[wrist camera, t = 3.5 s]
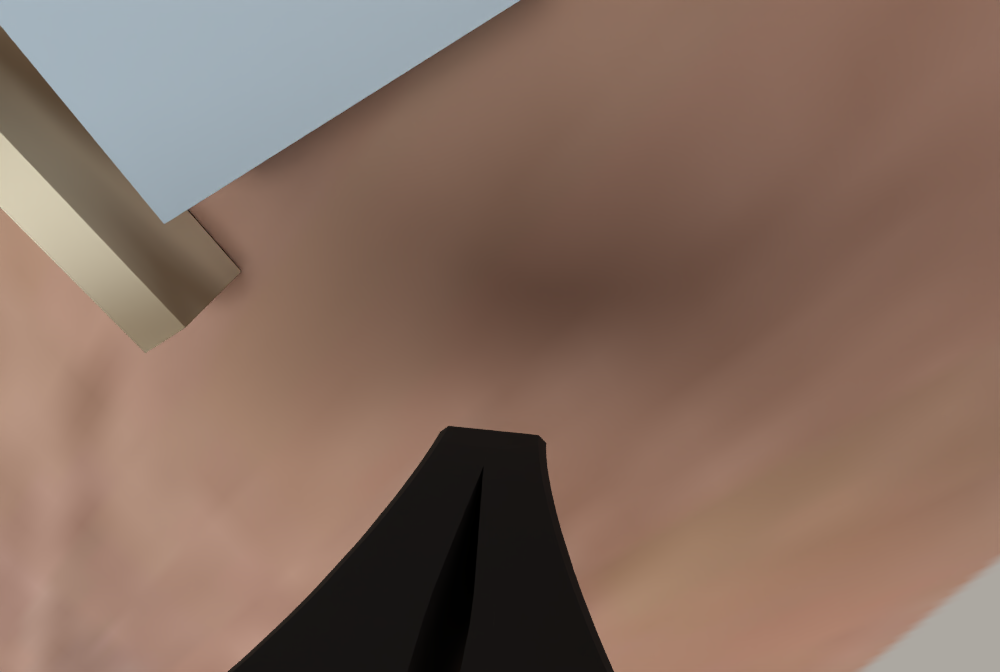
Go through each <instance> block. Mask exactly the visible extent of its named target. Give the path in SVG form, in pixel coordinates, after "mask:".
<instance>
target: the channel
mask: <svg viewBox="0 0 1000 672" xmlns="http://www.w3.org/2000/svg"><path fill="white" fill-rule="evenodd" d="M0 207H1V208H2V209H3V210H4V211H5V212H6V213H7V214H8V215H9V217H10V218H11V219H12V220H13V221H14V222H15V223H16V224H17V225H18V226H19V227H20V228H21V229H22V230H23V231H24V232H25V233H26V234H27V235H28V236H29V237H30V238H31V239H32V240H33V241H34V242H35V243H36V244H37V245H38V246H39V247H40V248H41V249H42V250H43V251H44V252H45V253H46V254H47V255H48V256H49V257H50V258H51V259H52V260H53V261H54V262H55V263H56V264H57V265H58V266H59V267H60V268H61V269H62V270H63V271H64V272H65V273H66V274H67V275H68V276H69V277H70V278H71V279H72V280H73V281H74V282H75V283H76V284H77V285H78V286H79V287H80V288H81V289H82V290H83V291H84V292H85V293H86V294H87V295H88V296H89V297H90V298H91V299H92V300H93V301H94V302H95V303H96V304H97V305H98V306H99V307H100V308H101V309H102V310H103V311H104V312H105V313H106V314H107V315H108V316H109V317H110V318H111V319H112V320H113V321H114V322H115V323H116V324H117V325H118V326H119V327H120V328H121V329H122V330H123V331H124V332H125V333H126V334H127V335H128V336H129V337H130V338H131V339H132V340H133V341H134V342H135V343H136V344H137V345H138V346H139V347H140V348H141V349H142V350H143V351H144V352H145V353H147V352H148V351H150V350H151V349H153V348H154V347H156V346H157V345H159V344H161V343H162V342H164V341H165V340H167V339H168V338H170V337H171V336H173V335H175V334H176V333H178V332H179V331H181V330H182V329H184V328H185V327H186V326H187V325H188V324H189V323H190V322H191V321H192V320H193V319H194V318H195V317H196V316H197V315H198V314H199V313H200V312H201V311H202V310H203V309H204V308H205V307H206V306H207V305H208V304H209V303H210V302H211V301H212V300H213V299H214V298H215V297H216V296H217V295H218V294H219V293H220V292H221V291H222V290H223V289H224V288H225V287H226V286H227V285H228V284H229V283H230V282H231V281H232V280H233V279H234V278H235V277H236V276H237V275H238V274H239V273H240V272H241V271H240V270H239V269H238V267H237V266H236V265H235V264H234V263H233V262H232V261H231V259H230V258H229V257H228V256H227V255H226V254H225V253H224V251H223V250H222V249H221V248H220V247H219V246H218V245H217V243H216V242H215V241H214V240H213V239H212V238H211V237H210V235H209V234H208V233H207V232H206V231H205V230H204V229H203V227H202V226H201V225H200V224H199V223H198V222H197V221H196V219H195V218H194V217H193V216H192V215H191V214H190V213H189V211H188V210H186V211H184V212H183V213H181V214H180V215H178V216H177V217H175V218H173V219H172V220H170V221H169V222H167V223H165V224H164V223H163V222H162V221H161V220H160V219H159V217H158V216H157V215H156V214H155V212H154V211H153V210H152V209H151V208H150V206H149V205H148V204H147V203H146V202H145V200H144V199H143V198H142V197H141V195H140V194H139V193H138V192H137V191H136V189H135V188H134V187H133V186H132V185H131V183H130V182H129V181H128V180H127V178H126V177H125V176H124V175H123V174H122V172H121V171H120V170H119V169H118V168H117V166H116V165H115V164H114V163H113V162H112V160H111V159H110V158H109V157H108V155H107V154H106V153H105V152H104V151H103V149H102V148H101V147H100V146H99V145H98V143H97V142H96V141H95V140H94V138H93V137H92V136H91V135H90V134H89V132H88V131H87V130H86V129H85V128H84V126H83V125H82V124H81V123H80V121H79V120H78V119H77V118H76V117H75V115H74V114H73V113H72V112H71V111H70V109H69V108H68V107H67V106H66V104H65V103H64V102H63V101H62V100H61V98H60V97H59V96H58V95H57V94H56V92H55V91H54V90H53V89H52V87H51V86H50V85H49V84H48V83H47V81H46V80H45V79H44V78H43V77H42V75H41V74H40V73H39V72H38V70H37V69H36V68H35V67H34V66H33V64H32V63H31V62H30V61H29V60H28V58H27V57H26V56H25V55H24V54H23V52H22V51H21V50H20V49H19V47H18V46H17V45H16V44H15V43H14V41H13V40H12V39H11V38H10V37H9V35H8V34H7V33H6V32H5V30H4V29H3V28H2V27H1V26H0Z"/></svg>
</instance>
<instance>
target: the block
mask: <svg viewBox="0 0 1000 672" xmlns="http://www.w3.org/2000/svg"><path fill="white" fill-rule="evenodd" d="M518 1H520V0H0V26H1V27H2V28H3V29H4V30H5V32H6V33H7V34H8V35H9V37H10V38H11V39H12V40H13V41H14V43H15V44H16V45H17V46H18V47H19V49H20V50H21V51H22V52H23V54H24V55H25V56H26V57H27V58H28V60H29V61H30V62H31V63H32V64H33V66H34V67H35V68H36V69H37V70H38V72H39V73H40V74H41V75H42V77H43V78H44V79H45V80H46V81H47V83H48V84H49V85H50V86H51V87H52V89H53V90H54V91H55V92H56V94H57V95H58V96H59V97H60V98H61V100H62V101H63V102H64V103H65V104H66V106H67V107H68V108H69V109H70V111H71V112H72V113H73V114H74V115H75V117H76V118H77V119H78V120H79V121H80V123H81V124H82V125H83V126H84V128H85V129H86V130H87V131H88V132H89V134H90V135H91V136H92V137H93V138H94V140H95V141H96V142H97V143H98V145H99V146H100V147H101V148H102V149H103V151H104V152H105V153H106V154H107V155H108V157H109V158H110V159H111V160H112V162H113V163H114V164H115V165H116V166H117V168H118V169H119V170H120V171H121V172H122V174H123V175H124V176H125V177H126V178H127V180H128V181H129V182H130V183H131V185H132V186H133V187H134V188H135V189H136V191H137V192H138V193H139V194H140V195H141V197H142V198H143V199H144V200H145V202H146V203H147V204H148V205H149V206H150V208H151V209H152V210H153V211H154V212H155V214H156V215H157V216H158V217H159V219H160V220H161V221H162V222H163V223H164V224H165V223H167V222H169V221H170V220H172V219H173V218H175V217H177V216H178V215H180V214H181V213H183V212H184V211H186V210H188V209H189V208H191V207H192V206H194V205H196V204H197V203H199V202H200V201H202V200H204V199H205V198H207V197H208V196H210V195H212V194H213V193H215V192H216V191H218V190H219V189H221V188H223V187H224V186H226V185H227V184H229V183H231V182H232V181H234V180H235V179H237V178H239V177H240V176H242V175H243V174H245V173H246V172H248V171H250V170H251V169H253V168H254V167H256V166H258V165H259V164H261V163H262V162H264V161H266V160H267V159H269V158H270V157H272V156H273V155H275V154H277V153H278V152H280V151H281V150H283V149H285V148H286V147H288V146H289V145H291V144H293V143H294V142H296V141H297V140H299V139H301V138H302V137H304V136H305V135H307V134H308V133H310V132H312V131H313V130H315V129H316V128H318V127H320V126H321V125H323V124H324V123H326V122H328V121H329V120H331V119H332V118H334V117H335V116H337V115H339V114H340V113H342V112H343V111H345V110H347V109H348V108H350V107H351V106H353V105H355V104H356V103H358V102H359V101H361V100H362V99H364V98H366V97H367V96H369V95H370V94H372V93H374V92H375V91H377V90H378V89H380V88H382V87H383V86H385V85H386V84H388V83H390V82H391V81H393V80H394V79H396V78H397V77H399V76H401V75H402V74H404V73H405V72H407V71H409V70H410V69H412V68H413V67H415V66H417V65H418V64H420V63H421V62H423V61H424V60H426V59H428V58H429V57H431V56H432V55H434V54H436V53H437V52H439V51H440V50H442V49H444V48H445V47H447V46H448V45H450V44H451V43H453V42H455V41H456V40H458V39H459V38H461V37H463V36H464V35H466V34H467V33H469V32H471V31H472V30H474V29H475V28H477V27H479V26H480V25H482V24H483V23H485V22H486V21H488V20H490V19H491V18H493V17H494V16H496V15H498V14H499V13H501V12H502V11H504V10H506V9H507V8H509V7H510V6H512V5H513V4H515V3H517V2H518Z"/></svg>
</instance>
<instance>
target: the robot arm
mask: <svg viewBox="0 0 1000 672" xmlns="http://www.w3.org/2000/svg"><path fill="white" fill-rule="evenodd" d="M228 672H614V671H613V669H612V666H611V664H610V662H609V659H608V657H607V655H606V653H605V650H604V648H603V645H602V643H601V641H600V638H599V636H598V633H597V631H596V629H595V626H594V623H593V621H592V618H591V616H590V613H589V611H588V608H587V605H586V603H585V600H584V598H583V595H582V592H581V589H580V587H579V584H578V581H577V578H576V575H575V573H574V570H573V566H572V563H571V560H570V557H569V554H568V551H567V547H566V544H565V541H564V538H563V535H562V531H561V528H560V524H559V521H558V517H557V513H556V509H555V505H554V500H553V496H552V491H551V487H550V481H549V476H548V469H547V459H546V442H545V441H544V440H543V439H542V438H541V437H540V436H539V435H531V434H522V433H512V432H502V431H492V430H483V429H473V428H463V427H453V426H448V427H447V428H445V429H444V430H442V431H441V432H440V433H439V435H438V437H437V438H436V440H435V442H434V443H433V445H432V446H431V448H430V449H429V451H428V452H427V454H426V455H425V457H424V458H423V460H422V461H421V462H420V464H419V465H418V467H417V468H416V469H415V471H414V472H413V474H412V475H411V476H410V478H409V479H408V480H407V482H406V483H405V484H404V486H403V487H402V488H401V490H400V491H399V492H398V494H397V495H396V496H395V497H394V499H393V500H392V501H391V502H390V504H389V505H388V506H387V507H386V508H385V510H384V511H383V512H382V513H381V515H380V516H379V517H378V518H377V520H376V521H375V522H374V523H373V524H372V526H371V527H370V528H369V529H368V531H367V532H366V533H365V534H364V535H363V537H362V538H361V539H360V540H359V541H358V542H357V543H356V545H355V546H354V547H353V548H352V549H351V550H350V551H349V552H348V553H347V554H346V556H345V557H344V558H343V559H342V560H341V561H340V562H339V563H338V564H337V565H336V566H335V568H334V569H333V570H332V571H331V572H330V573H329V574H328V575H327V576H326V577H325V579H324V580H323V581H322V582H321V583H320V584H319V585H318V586H317V587H316V588H315V589H314V590H313V591H312V592H311V593H310V595H309V596H308V597H307V598H306V599H305V600H304V601H303V602H302V603H301V604H300V605H299V606H298V607H297V608H296V609H295V610H294V611H293V612H292V613H291V614H290V615H289V616H288V617H287V618H286V619H284V620H283V621H282V622H281V623H280V624H279V625H278V626H277V627H276V628H275V629H274V630H273V631H272V632H271V633H270V634H269V635H268V636H267V637H266V638H264V639H263V640H262V641H261V642H260V643H259V644H258V645H257V646H256V647H255V648H254V649H253V650H252V651H251V652H249V653H248V654H247V655H246V656H245V657H244V658H243V659H242V660H241V661H239V662H238V663H237V664H236V665H235V666H234V667H232V668H231V669H230V670H229V671H228Z"/></svg>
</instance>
